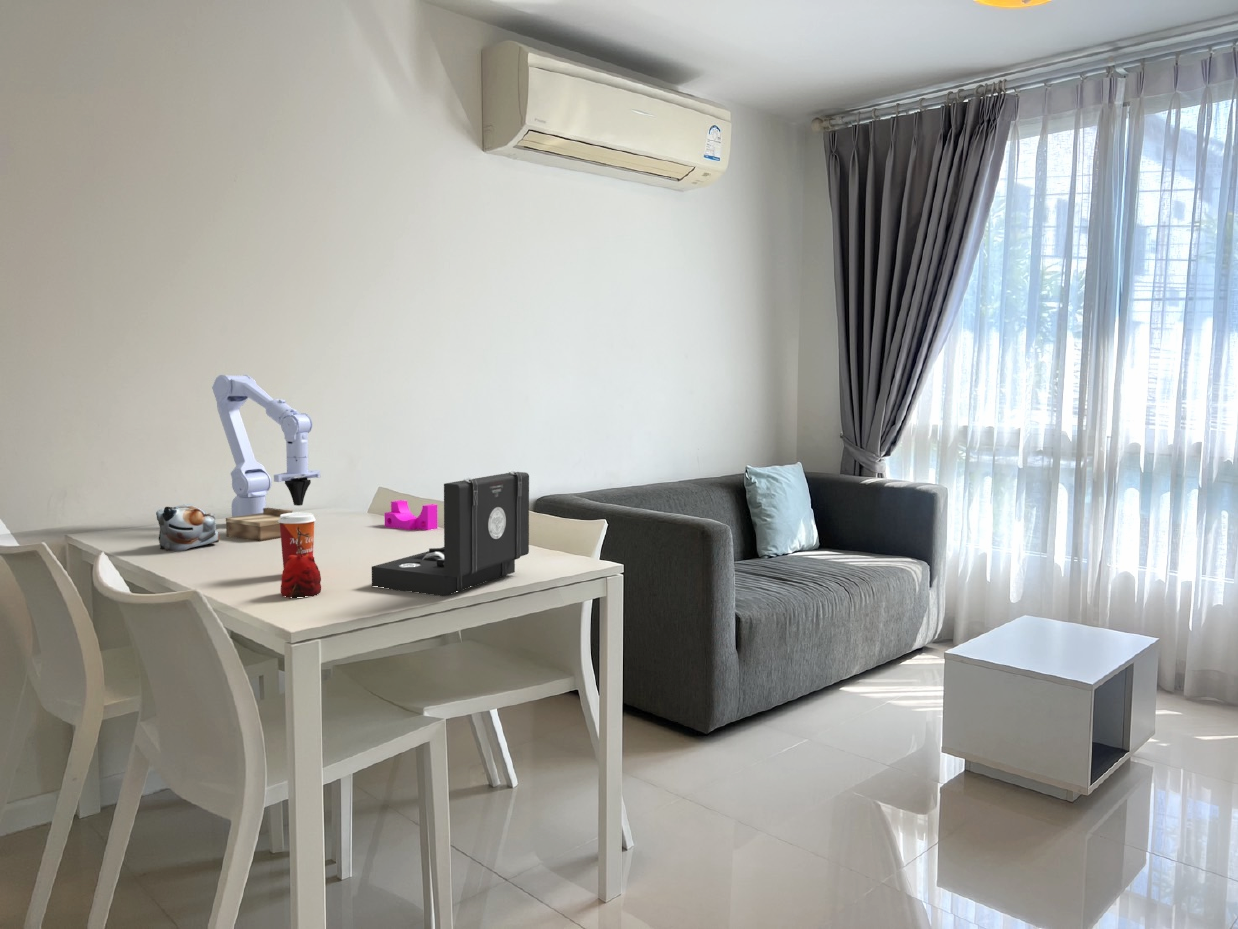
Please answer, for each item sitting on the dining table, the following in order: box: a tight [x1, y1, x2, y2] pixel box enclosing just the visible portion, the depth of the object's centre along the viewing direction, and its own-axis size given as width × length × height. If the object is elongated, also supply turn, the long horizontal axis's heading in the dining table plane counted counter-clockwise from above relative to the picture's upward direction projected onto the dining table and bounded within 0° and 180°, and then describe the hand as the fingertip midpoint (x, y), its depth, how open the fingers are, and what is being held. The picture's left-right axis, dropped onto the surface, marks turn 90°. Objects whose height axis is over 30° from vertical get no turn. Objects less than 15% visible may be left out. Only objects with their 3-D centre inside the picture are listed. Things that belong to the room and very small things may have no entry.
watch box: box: [371, 470, 530, 597], centre depth 194 cm, size 26×28×24 cm
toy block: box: [384, 499, 438, 531], centre depth 262 cm, size 15×6×8 cm, turn 56°
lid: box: [225, 507, 293, 527], centre depth 247 cm, size 14×12×3 cm
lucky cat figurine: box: [155, 504, 220, 552], centre depth 228 cm, size 15×12×14 cm
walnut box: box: [225, 521, 281, 542], centre depth 247 cm, size 14×12×4 cm
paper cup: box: [278, 511, 317, 569], centre depth 197 cm, size 8×8×14 cm
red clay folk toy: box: [280, 526, 322, 598], centre depth 179 cm, size 8×7×15 cm
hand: (298, 505), depth 257 cm, fingers closed
